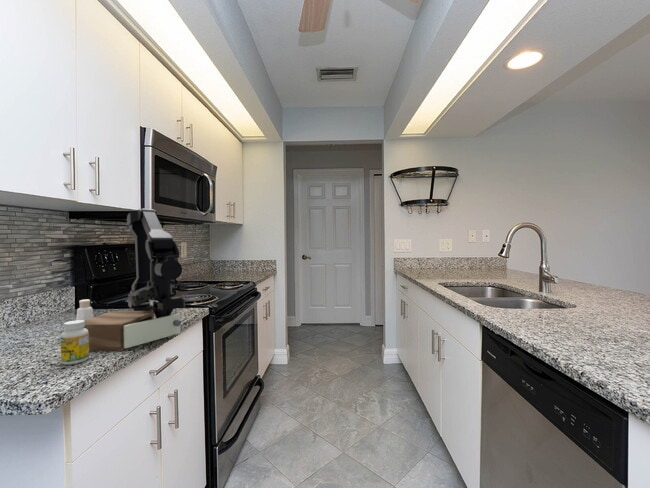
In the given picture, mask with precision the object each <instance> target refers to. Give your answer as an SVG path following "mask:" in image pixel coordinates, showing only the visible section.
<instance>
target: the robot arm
mask: <svg viewBox="0 0 650 488" xmlns="http://www.w3.org/2000/svg"><path fill="white" fill-rule="evenodd" d="M157 215H158V214H157V210H156V209H154V208H138V210H134V211H130V212H128V214H127V216H126V224H127V226H128V229H129V230H128V231H129V232H130V233H131V234H132V236H133V237H134V245H135V246H134V247H135V248H134V249H135V251H134V252H135V271H136V273H135V274H136V278H135V280H134V281H133V283H132V284H131V290H130V292H129V293H128V294H127V297H128V298H127V305H128V307H129V308H130V309H133V311H154V313H155V314H154V316H155V319H156V318H160V317H165V316H169V315H172V312H173V311H174V310H175V309H180V308H185V307H186V302H185V301H186V300H185V299H184V298H182V297H180V296H175V293H173V292H172V291H173V290H172V288H173V287H172V285H175V280H177V279H178V278H179V277H180V276H181V275H182V273H183V267H182V265H181V263H180V262H179V261H177V260H175V259H179V258H180V250H179V247H178V245H177V243H176V240H175V239H174V237H173V236H172V235H171V234H170V233H169V232H167V231H165V230H164V229H163V227H162V225H161V222H160V220H159V218H158V217H157Z"/></svg>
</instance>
